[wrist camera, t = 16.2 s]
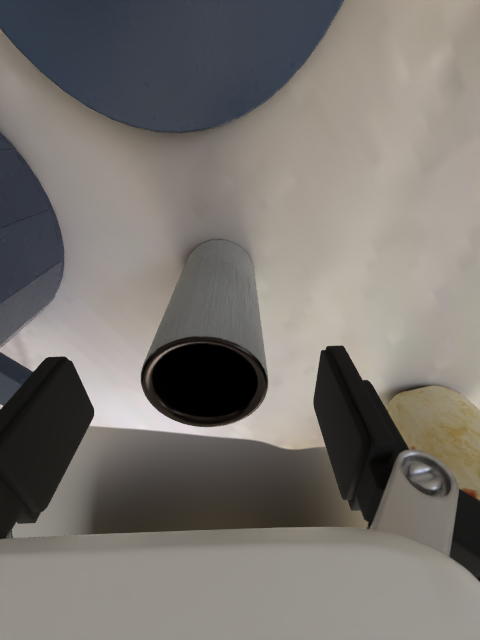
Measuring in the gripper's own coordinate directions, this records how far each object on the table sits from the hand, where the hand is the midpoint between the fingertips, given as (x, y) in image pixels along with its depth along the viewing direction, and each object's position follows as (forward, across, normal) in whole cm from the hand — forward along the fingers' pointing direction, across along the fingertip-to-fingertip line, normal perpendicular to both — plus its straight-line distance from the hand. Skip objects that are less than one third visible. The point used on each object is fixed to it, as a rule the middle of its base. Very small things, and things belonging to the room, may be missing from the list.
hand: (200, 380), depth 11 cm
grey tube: (+10, 0, 0) cm, 10 cm away
